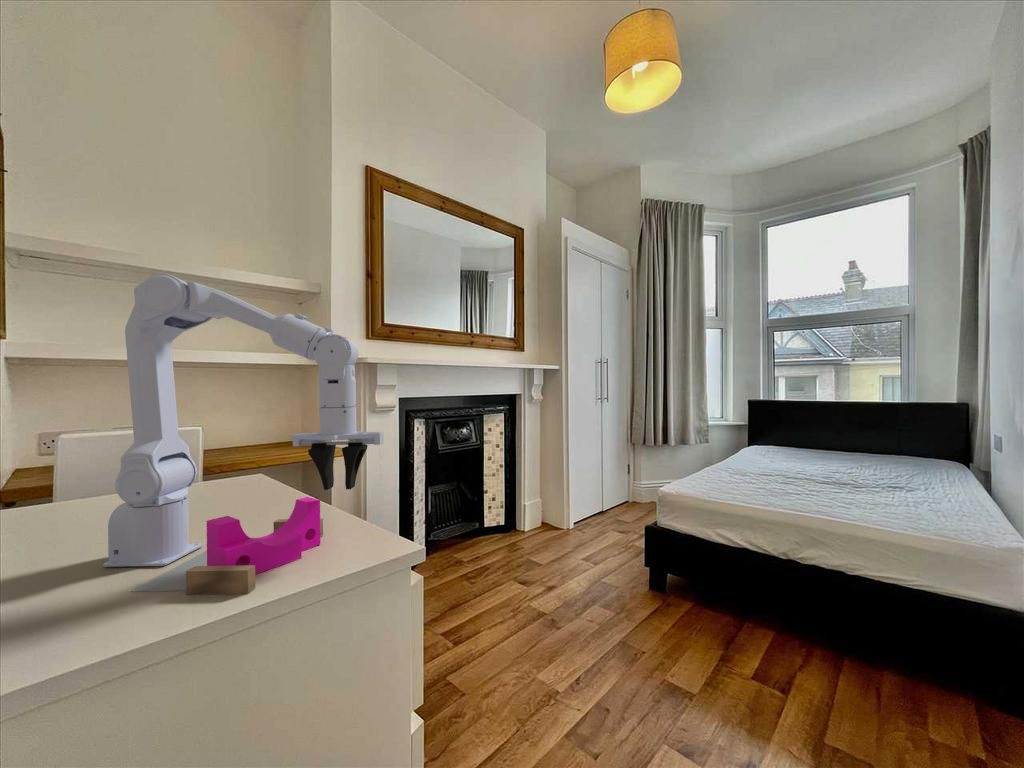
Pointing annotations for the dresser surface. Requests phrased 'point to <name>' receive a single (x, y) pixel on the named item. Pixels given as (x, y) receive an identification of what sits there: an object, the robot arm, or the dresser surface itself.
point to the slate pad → (173, 577)
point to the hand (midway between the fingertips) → (339, 488)
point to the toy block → (264, 539)
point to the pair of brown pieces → (226, 575)
